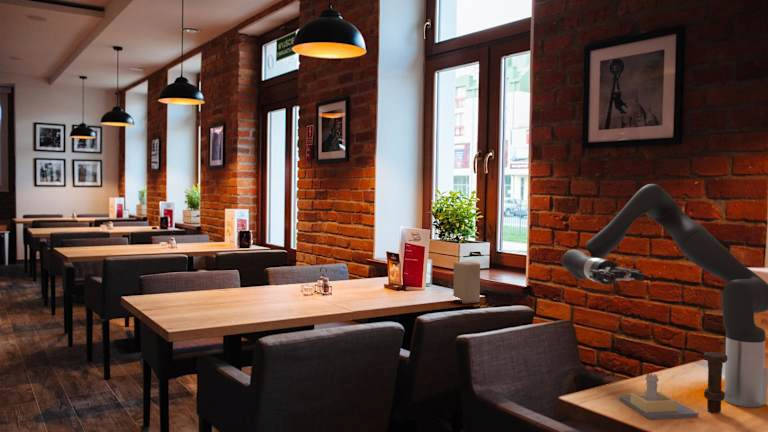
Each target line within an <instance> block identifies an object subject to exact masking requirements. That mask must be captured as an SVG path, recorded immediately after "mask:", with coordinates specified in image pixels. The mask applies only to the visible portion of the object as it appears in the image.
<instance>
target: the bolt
mask: <svg viewBox="0 0 768 432" xmlns="http://www.w3.org/2000/svg"><path fill="white" fill-rule="evenodd" d="M702 359H703V361H707V388H705V389H704V390H703V391H704V392H703V397H704V398H705V399H707V403H706V405H707V407H706V409H707V412H708V413H711V414H719V413H721V411H722V401H725V400H724V398H725V393H724V391H723V390H722V386H723V385H722V380H723V377H722V376H723V364H725V362H726V361H727V355H726V353H723V352H717V351H706V352H704V353H703V356H702Z"/></svg>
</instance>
